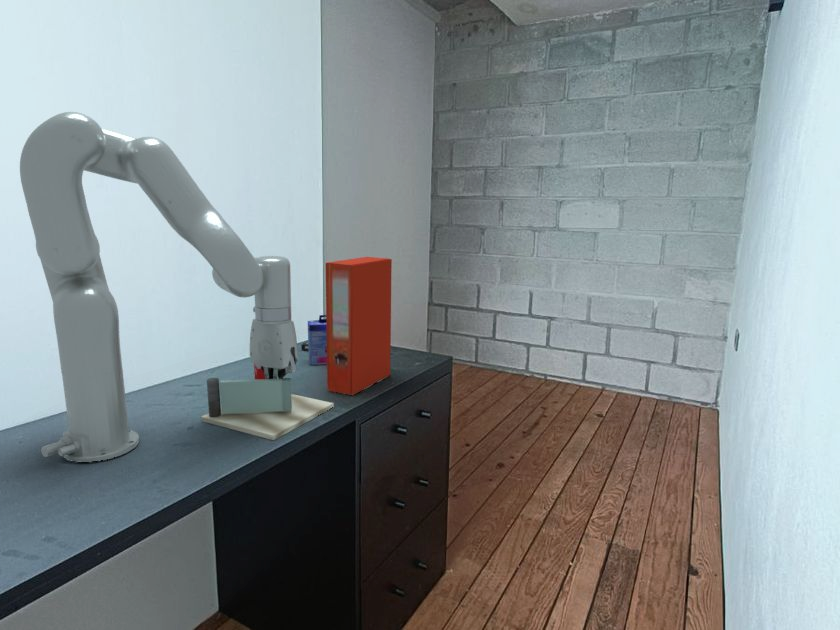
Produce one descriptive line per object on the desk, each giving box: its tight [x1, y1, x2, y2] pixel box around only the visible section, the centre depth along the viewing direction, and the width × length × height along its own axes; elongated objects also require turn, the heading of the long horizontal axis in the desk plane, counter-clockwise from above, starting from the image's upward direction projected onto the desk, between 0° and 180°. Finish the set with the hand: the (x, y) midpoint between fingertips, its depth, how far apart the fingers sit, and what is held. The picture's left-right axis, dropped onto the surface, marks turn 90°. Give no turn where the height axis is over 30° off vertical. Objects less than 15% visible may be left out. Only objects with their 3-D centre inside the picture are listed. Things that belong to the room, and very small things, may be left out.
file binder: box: [325, 256, 392, 395], centre depth 137 cm, size 8×17×32 cm, turn 152°
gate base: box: [200, 377, 335, 441], centre depth 119 cm, size 20×20×9 cm
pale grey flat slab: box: [219, 377, 292, 414], centre depth 116 cm, size 14×2×7 cm, turn 99°
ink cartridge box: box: [307, 314, 327, 366], centre depth 157 cm, size 10×6×14 cm, turn 107°
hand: (275, 394), depth 120 cm, fingers closed
